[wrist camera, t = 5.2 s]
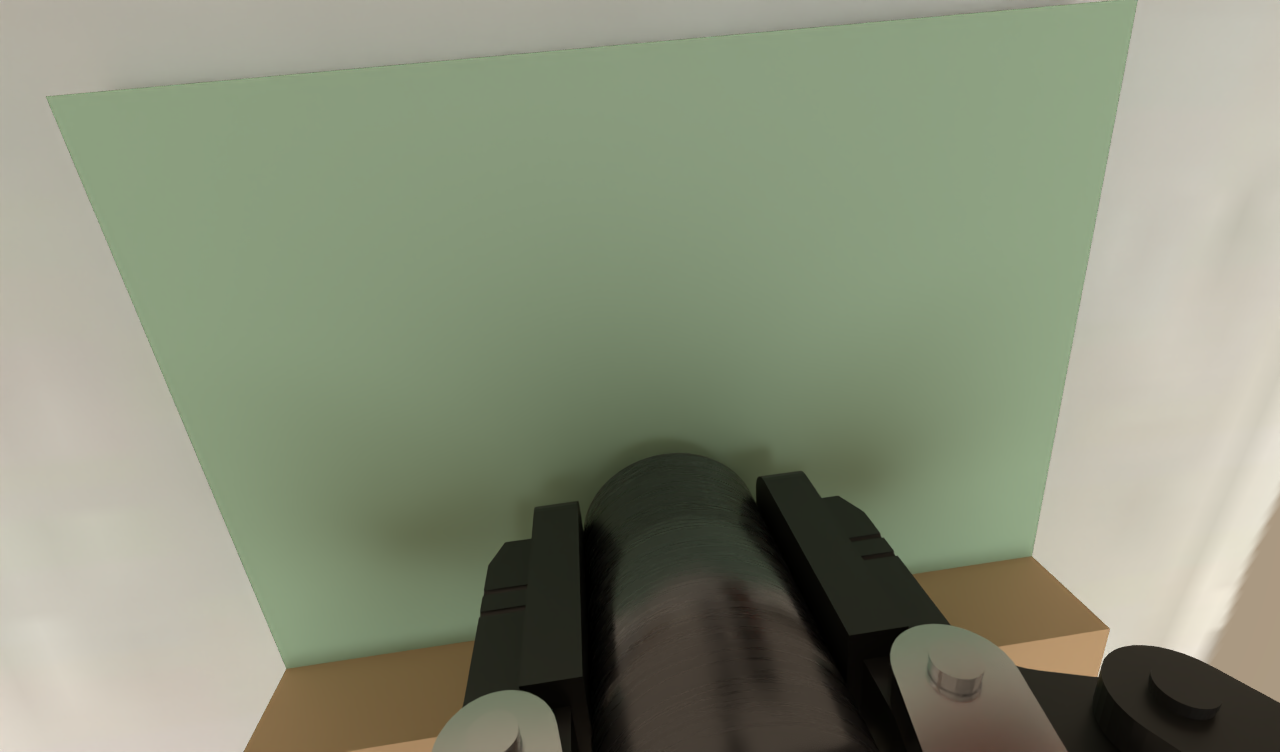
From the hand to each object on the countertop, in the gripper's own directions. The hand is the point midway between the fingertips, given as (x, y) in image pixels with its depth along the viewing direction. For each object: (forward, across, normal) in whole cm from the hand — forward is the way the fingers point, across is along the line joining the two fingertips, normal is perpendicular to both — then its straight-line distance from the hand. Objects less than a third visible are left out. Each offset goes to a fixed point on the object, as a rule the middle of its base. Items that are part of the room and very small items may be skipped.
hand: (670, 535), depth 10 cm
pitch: (+2, 0, +6) cm, 6 cm away
